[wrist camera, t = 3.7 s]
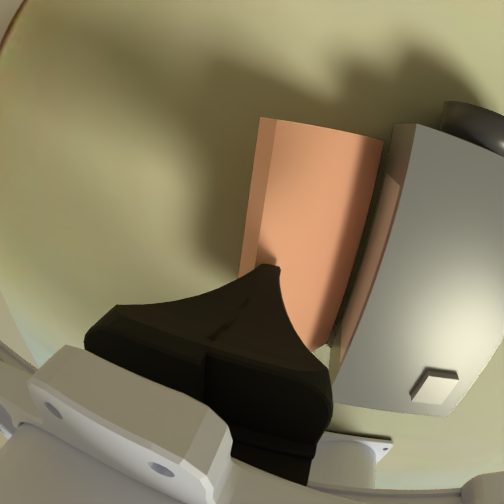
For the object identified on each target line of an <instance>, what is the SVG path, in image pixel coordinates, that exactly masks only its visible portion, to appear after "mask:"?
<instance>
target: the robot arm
mask: <svg viewBox="0 0 504 504" xmlns="http://www.w3.org/2000/svg"><path fill="white" fill-rule="evenodd" d="M280 274H281V269H280V267H279V266H275V265H271V264H261V265H260V266H258V267H257V268H255V269H254V270H252V271H250V272H249V273H247V274H245V275H244V276H242V277H240V278H238V279H237V280H235V281H233V282H231V283H229V284H227V285H224V286H222V287H220V288H218V289H215V290H213V291H210V292H207V293H204V294H201V295H198V296H194V297H190V298H186V299H181V300H177V301H171V302H165V303H156V304H144V305H116V306H114V307H113V308H112V309H111V310H110V311H109V312H108V313H106V314H105V315H104V316H103V317H102V318H101V319H100V320H99V321H98V322H97V323H96V324H95V325H93V326H92V327H91V328H90V329H89V330H88V332H87V333H86V334H85V339H84V347H85V350H84V349H80V348H77V347H73V346H69V345H65V346H63V347H62V348H61V349H60V350H58V351H57V352H56V353H55V354H54V355H53V356H52V357H51V358H50V359H49V360H48V361H47V362H46V363H45V364H43V365H42V366H41V367H40V368H39V369H37V368H36V367H34V366H33V365H31V364H30V363H28V362H27V361H26V360H25V359H23V358H22V357H21V356H19V355H18V354H17V353H15V352H14V351H13V350H11V349H10V348H9V347H8V346H6V345H5V344H4V343H2V342H1V341H0V432H1V433H3V435H4V436H5V437H6V438H7V439H8V441H7V442H6V443H5V444H4V446H3V447H2V448H1V449H0V504H504V471H503V472H496V473H487V474H482V475H478V476H476V477H474V478H472V479H471V480H469V481H468V482H467V483H465V484H464V485H463V486H462V487H461V488H453V489H435V490H391V489H375V480H376V464H377V463H378V462H379V461H380V460H381V459H382V458H383V456H384V455H385V454H386V453H387V452H388V451H389V450H390V449H391V448H392V447H393V441H390V440H381V439H373V438H365V437H358V436H351V435H344V434H338V433H332V432H327V431H325V430H326V428H327V427H328V425H329V423H330V421H331V418H332V414H333V394H332V386H331V380H330V375H329V371H328V369H327V367H325V366H324V365H323V364H322V363H321V362H320V361H319V360H318V359H317V358H316V357H315V356H314V355H313V354H312V353H311V352H310V351H309V349H308V348H307V347H306V346H305V345H304V343H303V342H302V340H301V339H300V337H299V336H298V334H297V332H296V331H295V329H294V327H293V325H292V323H291V321H290V319H289V316H288V314H287V311H286V308H285V305H284V302H283V298H282V293H281V288H280Z"/></svg>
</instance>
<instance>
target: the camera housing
mask: <svg viewBox="0 0 504 504" xmlns="http://www.w3.org/2000/svg"><path fill="white" fill-rule="evenodd" d="M503 337H504V116H503V115H500V114H498V113H496V112H493V111H490V110H488V109H485V108H482V107H478V106H475V105H471V104H467V103H462V102H455V101H447V102H445V103H444V108H443V115H442V121H441V126H440V131H438V130H435V129H432V128H429V127H426V126H423V125H420V124H417V123H396V124H394V127H393V133H392V138H391V143H390V148H389V153H388V158H387V162H386V167H385V172H384V176H383V180H382V185H381V189H380V193H379V197H378V201H377V205H376V209H375V213H374V217H373V220H372V224H371V228H370V231H369V235H368V239H367V242H366V245H365V249H364V252H363V256H362V259H361V262H360V266H359V269H358V272H357V275H356V278H355V281H354V284H353V287H352V291H351V294H350V296H349V299H348V302H347V305H346V308H345V311H344V314H343V317H342V320H341V322H340V325H339V328H338V330H337V333H336V336H335V339H334V341H333V344H332V346H331V350H330V360H329V370H328V371H329V375H330V380H331V386H332V394H333V402H335V403H340V404H345V405H351V406H357V407H363V408H369V409H376V410H383V411H390V412H398V413H407V414H416V415H427V416H439V417H448V415H449V414H450V413H451V412H452V411H453V409H454V408H455V407H456V406H457V404H458V403H459V402H460V401H461V399H462V398H463V397H464V395H465V394H466V393H467V392H468V390H469V389H470V387H471V386H472V385H473V383H474V382H475V381H476V379H477V378H478V376H479V375H480V373H481V372H482V371H483V369H484V368H485V366H486V365H487V363H488V362H489V360H490V359H491V357H492V355H493V354H494V352H495V351H496V349H497V347H498V346H499V344H500V343H501V341H502V339H503Z"/></svg>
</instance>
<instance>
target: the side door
mask: <svg viewBox="0 0 504 504" xmlns="http://www.w3.org/2000/svg"><path fill="white" fill-rule="evenodd" d="M383 143H384V141H383V140H379V139H375V138H372V137H368V136H363V135H359V134H355V133H350V132H346V131H341V130H336V129H331V128H326V127H321V126H316V125H310V124H304V123H299V122H292V121H286V120H279V119H272V118H265V117H260V121H259V128H258V135H257V142H256V149H255V157H254V164H253V171H252V178H251V185H250V193H249V200H248V207H247V215H246V222H245V230H244V237H243V245H242V252H241V260H240V267H239V275H238V278H240V277H242V276H244V275H245V274H247V273H249V272H250V271H252V270H254V269H255V268H257V267H258V266H260V265H261V264H271V265H275V266H279V267H280V269H281V274H280V288H281V293H282V298H283V302H284V305H285V308H286V311H287V314H288V316H289V319H290V321H291V323H292V325H293V327H294V329H295V331H296V332H297V334H298V336H299V337H300V339H301V340H302V342H303V343H304V345H305V346H306V347H307V348H308V349H309V351H310V352H312V351H314V350H316V349H317V348H319V347H321V346H322V345H324V344H326V343H327V342H328V339H329V337H330V334H331V331H332V328H333V326H334V323H335V320H336V317H337V314H338V311H339V308H340V305H341V302H342V299H343V296H344V293H345V290H346V287H347V284H348V281H349V277H350V274H351V271H352V268H353V264H354V261H355V258H356V254H357V251H358V247H359V244H360V240H361V236H362V233H363V229H364V225H365V222H366V218H367V214H368V210H369V206H370V202H371V198H372V194H373V190H374V185H375V181H376V177H377V172H378V168H379V163H380V158H381V153H382V149H383Z"/></svg>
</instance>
